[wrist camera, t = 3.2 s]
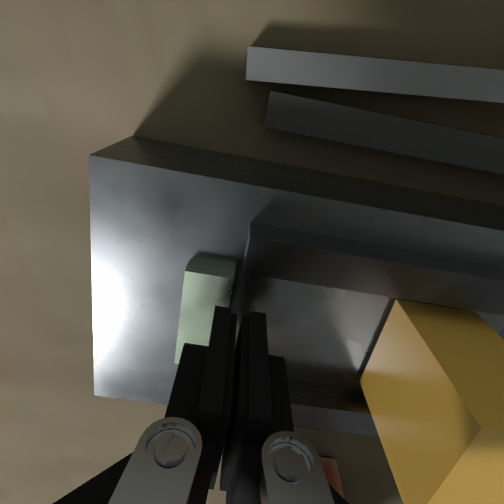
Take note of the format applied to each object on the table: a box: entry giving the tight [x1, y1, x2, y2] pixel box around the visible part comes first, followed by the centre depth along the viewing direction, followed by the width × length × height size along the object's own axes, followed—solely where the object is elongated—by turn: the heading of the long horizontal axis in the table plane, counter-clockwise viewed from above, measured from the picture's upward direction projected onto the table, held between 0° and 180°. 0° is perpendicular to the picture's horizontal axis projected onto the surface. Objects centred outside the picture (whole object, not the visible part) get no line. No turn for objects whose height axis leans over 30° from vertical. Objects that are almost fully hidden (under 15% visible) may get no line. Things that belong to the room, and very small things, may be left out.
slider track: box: [89, 136, 504, 437], centre depth 14 cm, size 24×10×5 cm, turn 79°
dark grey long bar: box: [263, 90, 504, 175], centre depth 13 cm, size 16×1×1 cm, turn 79°
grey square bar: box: [246, 46, 504, 103], centre depth 12 cm, size 14×1×1 cm, turn 85°
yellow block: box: [360, 299, 504, 504], centre depth 11 cm, size 3×4×5 cm
